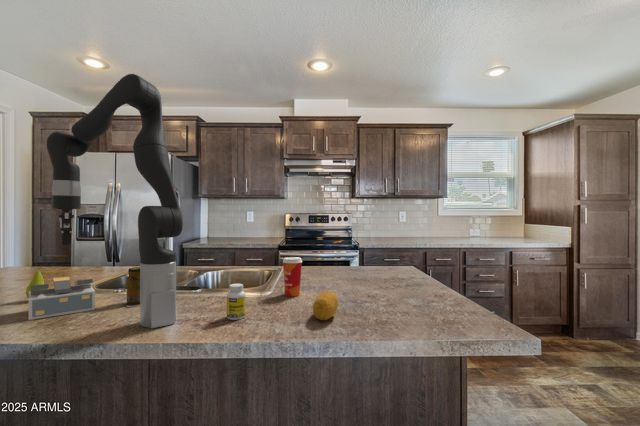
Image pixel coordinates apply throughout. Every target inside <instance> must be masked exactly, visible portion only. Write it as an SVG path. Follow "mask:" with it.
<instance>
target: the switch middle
mask: <svg viewBox="0 0 640 426" xmlns="http://www.w3.org/2000/svg"><path fill="white" fill-rule="evenodd" d="M52 282H53V288H54V290H55V294H58V293H66V292H71V289H72V288H71V286H72V285H71V278H70V276H63V277H62V276H61V277H53V281H52Z"/></svg>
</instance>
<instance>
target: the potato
mask: <svg viewBox="0 0 640 426" xmlns="http://www.w3.org/2000/svg"><path fill="white" fill-rule="evenodd" d="M338 308H339V300H338V296H337V295H336V293H335V292H333V291H328V290H326V291H323V292H321V293H320V294H319V295H318V296H317V297H316V298H315V300H314V301H313V304H312V313H313V315H314V316H315V318H316V319H318V320H320V321H328V320H329V319H330V318H331V317H333V316H334V315H335V314H336V312H337V310H338Z"/></svg>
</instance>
